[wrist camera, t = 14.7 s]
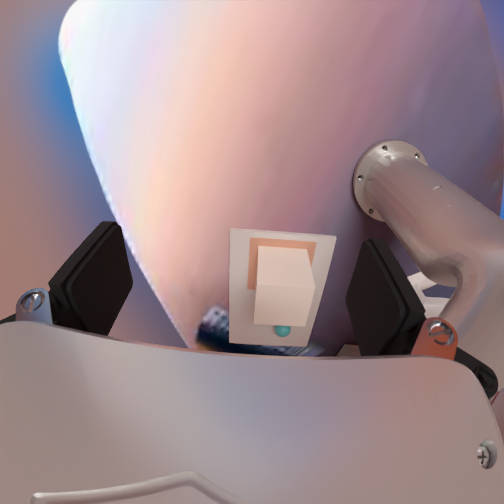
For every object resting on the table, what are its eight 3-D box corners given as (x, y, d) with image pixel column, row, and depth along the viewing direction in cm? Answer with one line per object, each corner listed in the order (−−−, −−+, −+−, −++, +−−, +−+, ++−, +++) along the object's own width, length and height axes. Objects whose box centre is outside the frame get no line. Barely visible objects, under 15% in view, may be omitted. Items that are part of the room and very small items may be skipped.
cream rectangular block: (306, 249, 42) (315, 287, 35) (299, 286, 46) (304, 326, 39) (258, 245, 42) (257, 284, 35) (255, 283, 47) (253, 324, 39)
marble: (291, 318, 51) (292, 330, 48) (289, 328, 52) (290, 340, 50) (275, 317, 51) (275, 329, 48) (273, 328, 52) (273, 340, 50)
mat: (335, 235, 42) (336, 238, 41) (306, 344, 56) (306, 346, 55) (230, 228, 42) (230, 230, 41) (229, 340, 56) (229, 343, 55)
